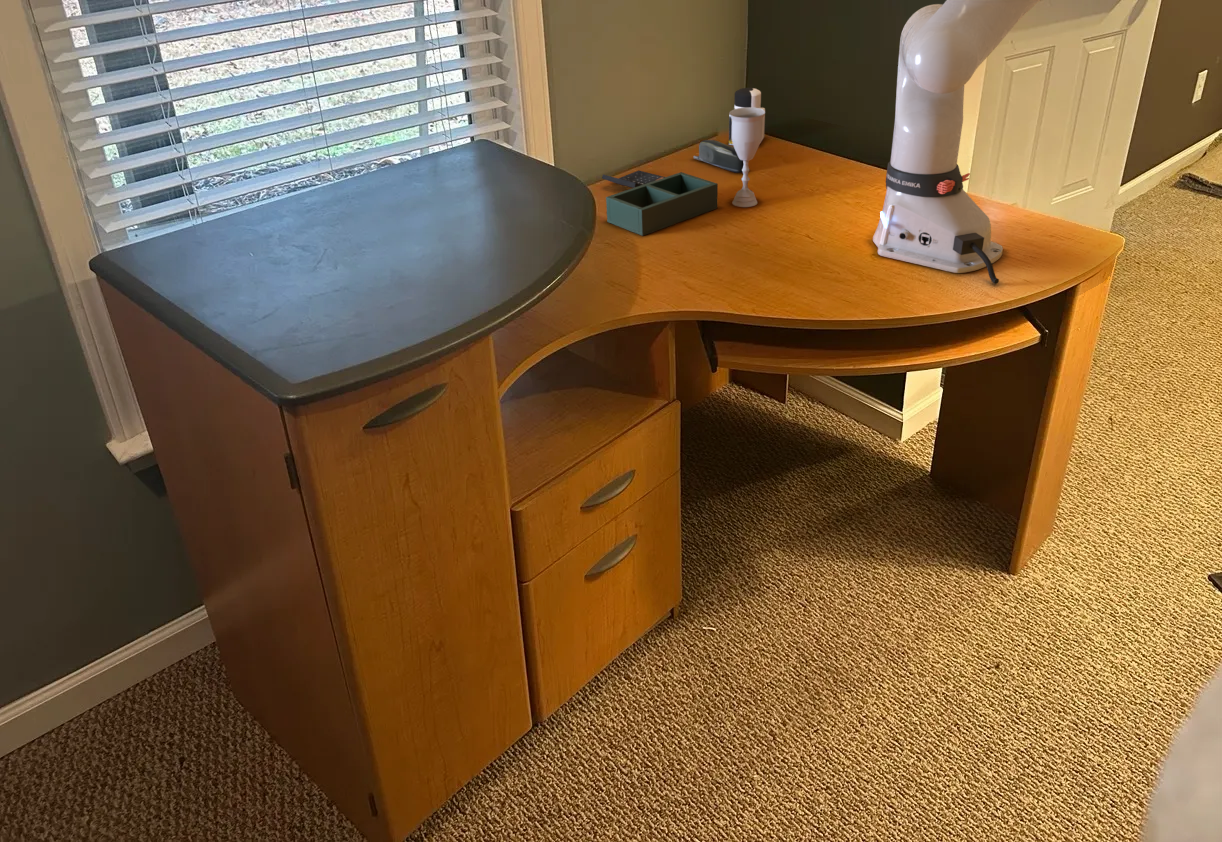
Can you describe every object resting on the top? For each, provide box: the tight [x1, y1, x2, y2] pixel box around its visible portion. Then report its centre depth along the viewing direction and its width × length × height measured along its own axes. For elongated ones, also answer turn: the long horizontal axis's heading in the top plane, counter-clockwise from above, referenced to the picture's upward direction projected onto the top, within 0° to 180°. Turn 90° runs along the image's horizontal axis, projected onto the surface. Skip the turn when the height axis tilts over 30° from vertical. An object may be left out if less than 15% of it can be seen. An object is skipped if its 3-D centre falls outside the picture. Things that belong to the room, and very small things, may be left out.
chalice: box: [728, 107, 766, 208], centre depth 194 cm, size 7×7×18 cm
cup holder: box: [605, 171, 719, 237], centre depth 193 cm, size 10×20×5 cm, turn 130°
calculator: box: [601, 169, 666, 189], centre depth 209 cm, size 9×12×3 cm
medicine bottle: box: [728, 87, 766, 146], centre depth 229 cm, size 7×7×12 cm
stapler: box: [693, 139, 744, 174], centre depth 217 cm, size 5×3×15 cm
